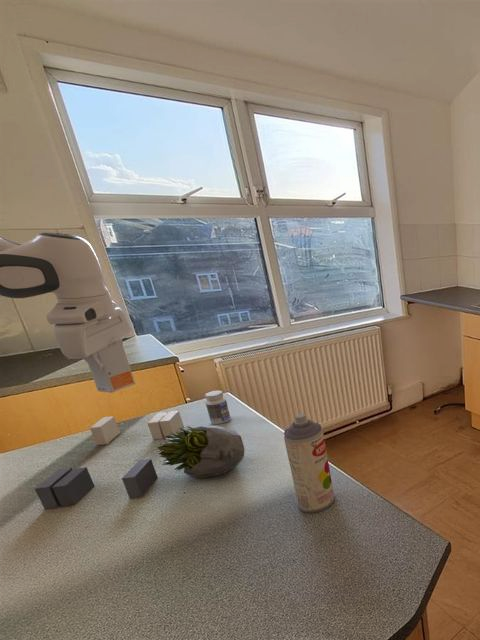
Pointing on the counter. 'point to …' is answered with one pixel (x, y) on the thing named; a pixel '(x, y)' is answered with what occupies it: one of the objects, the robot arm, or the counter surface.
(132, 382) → the cosmetic box
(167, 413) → the white blocks
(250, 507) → the counter surface
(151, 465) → the dark grey blocks
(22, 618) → the counter surface
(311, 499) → the aerosol can
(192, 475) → the potted plant
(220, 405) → the pill bottle
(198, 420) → the counter surface
